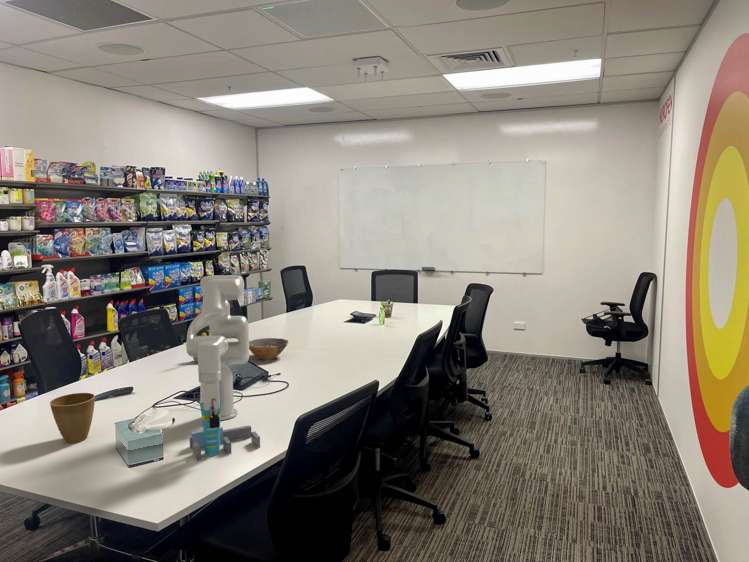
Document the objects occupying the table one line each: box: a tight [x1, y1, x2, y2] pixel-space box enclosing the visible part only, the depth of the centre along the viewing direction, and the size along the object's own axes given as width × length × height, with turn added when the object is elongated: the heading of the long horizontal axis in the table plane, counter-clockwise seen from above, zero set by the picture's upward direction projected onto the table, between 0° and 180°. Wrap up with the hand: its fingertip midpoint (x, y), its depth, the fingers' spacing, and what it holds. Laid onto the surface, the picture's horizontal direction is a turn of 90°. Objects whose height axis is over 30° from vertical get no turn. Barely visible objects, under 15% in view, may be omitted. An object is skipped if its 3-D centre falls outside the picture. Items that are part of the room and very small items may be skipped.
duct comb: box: [188, 424, 261, 461], centre depth 199 cm, size 13×22×6 cm, turn 119°
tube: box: [199, 400, 222, 457], centre depth 193 cm, size 7×5×19 cm, turn 114°
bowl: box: [249, 337, 289, 361], centre depth 327 cm, size 25×25×10 cm
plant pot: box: [49, 392, 96, 444], centre depth 206 cm, size 15×15×16 cm
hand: (211, 422), depth 193 cm, fingers open, 9 cm apart
